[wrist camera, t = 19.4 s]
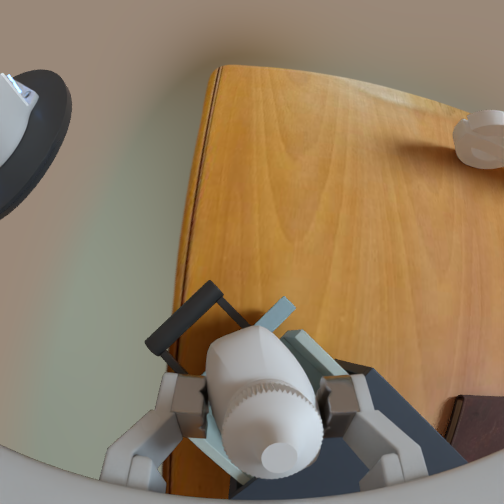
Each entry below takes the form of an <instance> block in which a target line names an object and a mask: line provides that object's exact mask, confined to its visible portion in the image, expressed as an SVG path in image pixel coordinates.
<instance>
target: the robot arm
mask: <svg viewBox="0 0 504 504" xmlns="http://www.w3.org/2000/svg"><path fill="white" fill-rule="evenodd" d="M38 98H39V95H38V94H37V93H36V92H35V91H33V90H31V89H30V88H28V87H26V86H24V85H23V84H21V83H19V82H18V81H16V80H14V79H12V78H11V77H10V75H8V76H7V75H4V73H1V74H0V167H1V166H2V165H3V164H4V163H5V162H6V161H7V159H8V158H9V157H10V156H11V154H12V153H13V152H14V150H15V149H16V147H17V146H18V144H19V142H20V141H21V139H22V137H23V135H24V132H25V130H26V127H27V124H28V120H29V116H30V113H31V111H32V109H33V108H34V106H35V104H36V103H37V101H38ZM316 399H317V402H318V406H319V410H320V416H321V419H322V422H321V423H322V424H323V427H322V428H323V429H324V430H323V433H324V435H323V436H322V438H339V437H343V440H344V441H345V442H346V443H347V444H348V445H349V447H350V448H351V449H352V450H353V451H354V453H355V454H356V455H357V456H358V457H359V458H360V460H361V461H362V462H363V463H364V464H365V465H366V466H367V468H368V469H369V471H368V473H367V474H366V475H365V476H364V477H363V478H362V479H361V480H360V481H359V486H360V492H355V493H348V494H341V495H334V496H325V497H315V498H303V499H286V500H228V499H211V498H199V497H189V496H180V495H172V494H165V492H166V482H165V481H164V479H163V477H162V476H161V474H160V473H159V471H158V469H157V468H158V467H159V466H160V465H161V464H162V463H163V461H164V460H165V459H166V458H167V457H168V456H169V454H170V453H171V452H172V451H173V450H174V449H175V447H176V446H177V445H178V444H179V443H180V442H181V440H182V439H183V438H182V437H185V438H201V439H206V437H207V427H208V421H207V414H208V413H209V407H210V403H209V398H208V392H207V384H206V376H200V375H188V374H179V373H168V372H165V373H164V375H163V377H162V381H161V385H160V389H159V393H158V398H157V402H156V406H155V410H150V411H149V412H148V413H147V414H145V415H144V416H143V417H142V418H141V419H140V420H139V421H138V422H137V423H135V424H134V425H133V426H132V427H131V428H130V429H129V430H128V431H126V432H125V433H124V434H123V435H122V436H121V437H120V438H118V439H117V440H116V441H115V442H114V443H113V444H112V445H111V446H110V447H108V448H107V452H106V455H105V459H104V463H103V466H102V470H101V475H100V478H99V480H97V479H93V478H89V477H86V476H82V475H79V474H76V473H73V472H69V471H66V470H63V469H60V468H57V467H54V466H51V465H49V464H46V463H43V462H40V461H38V460H35V459H33V458H30V457H28V456H25V455H23V454H20V453H18V452H16V451H13V450H11V449H9V448H7V447H5V446H2V445H0V504H504V449H502V450H499V451H497V452H495V453H492V454H490V455H488V456H485V457H483V458H480V459H478V460H475V461H473V462H470V463H467V464H464V465H462V466H459V467H456V468H453V469H450V470H447V471H444V472H441V473H438V474H434V475H431V476H429V475H428V471H427V467H426V464H425V460H424V457H423V454H422V450H421V447H420V446H419V445H418V444H417V443H416V442H414V441H413V440H412V439H411V438H410V437H409V436H408V435H406V434H405V433H404V432H403V431H402V430H401V429H399V428H398V427H397V426H396V425H395V424H394V423H393V422H391V421H390V420H389V419H388V418H387V417H386V416H385V415H384V414H382V413H381V412H380V411H379V410H374V406H373V403H372V399H371V396H370V392H369V389H368V385H367V382H366V379H365V376H364V375H363V374H355V375H337V376H322V378H321V380H320V388H319V389H318V390H317V393H316Z"/></svg>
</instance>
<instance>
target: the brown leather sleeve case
mask: <svg viewBox="0 0 504 504" xmlns="http://www.w3.org/2000/svg"><path fill="white" fill-rule="evenodd" d="M445 440H446V441H447V442H448V443H449V444H450V445H451V446H452V447H453V448H454V449H455V450H456V451H457V452H458V453H459V454H460V455H461V456H462V457H463V458H464V459H465V460H466V461H467V462H468V463H470V462H473V461H475V460H478V459H480V458H483V457H485V456H488V455H490V454H492V453H495V452H497V451H499V450H502V449H504V397H497V396H473V395H458V396H457V397H456V401H455V405H454V408H453V412H452V416H451V419H450V423H449V426H448V429H447V432H446V436H445Z"/></svg>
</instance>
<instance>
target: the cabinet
mask: <svg viewBox="0 0 504 504" xmlns="http://www.w3.org/2000/svg"><path fill="white" fill-rule="evenodd" d="M334 360H335V361H336V362H337V363H338V364H339V365H340V366H341V367H342V368H343V369H344V370H345V371H346V372H347V373H348V374H349V375H355V374H363V375H364V376H365V379H366V382H367V385H368V389H369V392H370V396H371V399H372V403H373V406H374V410H379V411H380V412H381V413H382V414H384V415H385V416H386V417H387V418H388V419H389V420H390V421H391V422H393V423H394V424H395V425H396V426H397V427H398V428H399V429H401V430H402V431H403V432H404V433H405V434H406V435H408V436H409V437H410V438H411V439H412V440H413V441H414V442H416V443H417V444H418V445H419V446H420V447H421V450H422V454H423V457H424V460H425V464H426V467H427V471H428V475H429V476H431V475H434V474H438V473H441V472H444V471H447V470H450V469H453V468H456V467H459V466H462V465H464V464H467V463H468V462H467V461H466V460H465V459H464V458H463V457H462V456H461V455H460V454H459V453H458V452H457V451H456V450H455V449H454V448H453V447H452V446H451V445H450V444H449V443H448V442H447V441H446V440H445V439H444V438H443V437H442V436H441V435H440V434H439V433H438V432H437V431H436V430H435V429H434V428H433V427H432V426H431V425H430V424H429V423H428V422H427V421H426V420H425V419H424V418H423V417H422V416H421V415H420V414H419V413H418V412H417V411H416V410H415V409H414V408H413V407H412V406H411V405H410V404H409V403H408V402H407V401H406V400H405V399H404V398H403V397H402V396H401V395H400V394H399V393H398V392H397V391H396V390H395V389H394V388H393V387H392V386H391V385H390V384H389V383H388V382H387V381H386V380H385V379H384V378H383V377H382V376H381V375H380V374H379V373H378V372H377V371H376V370H375V369H374V368H372V367H367V366H363V365H358V364H354V363H350V362H346V361H341V360H338V359H334ZM321 442H322V444H321V448H320V453H319V456H318V458H317V460H316V461H315V462H314V463H313V464H312V465H310V466H309V467H307V468H305V469H302V470H301V471H298V473H294V474H293V475H289V476H288V477H284V478H278V479H265V478H263V479H261V478H260V477H259V478H256V477H255V476H254V477H253V478H252V479H251V480H249V481H248V482H247V483H245V484H244V485H242V484H241V483H239V482H238V481H237V480H236V479H234V478H233V477H232V476H231V477H230V487H229V498H228V500H286V499H303V498H315V497H325V496H334V495H341V494H348V493H355V492H360V486H359V481H360V480H361V479H362V478H363V477H364V476H365V475H366V474H367V473H368V471H369V469H368V468H367V466H366V465H365V464H364V463H363V462H362V461H361V460H360V458H359V457H358V456H357V455H356V454H355V453H354V451H353V450H352V449H351V448H350V447H349V445H348V444H347V443H346V442H345V441H344V440H343V437H339V438H323V440H322V441H321Z"/></svg>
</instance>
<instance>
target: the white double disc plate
mask: <svg viewBox="0 0 504 504" xmlns="http://www.w3.org/2000/svg"><path fill="white" fill-rule="evenodd" d="M467 118H468V120H466V119H461V120H460V121H459V123H458V124H457V125H456V126H455V128H454V130H453V141H454V145H455V150H456V154H457V156H458V158H459V159H460V160H461V161H462V162H463V163H464V164H466V165H469V166H471V167H475V168H479V169H495V168H500V167H504V112H502V111H498V110H484V111H479V112H475V113H472V114H470V115H467Z"/></svg>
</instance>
